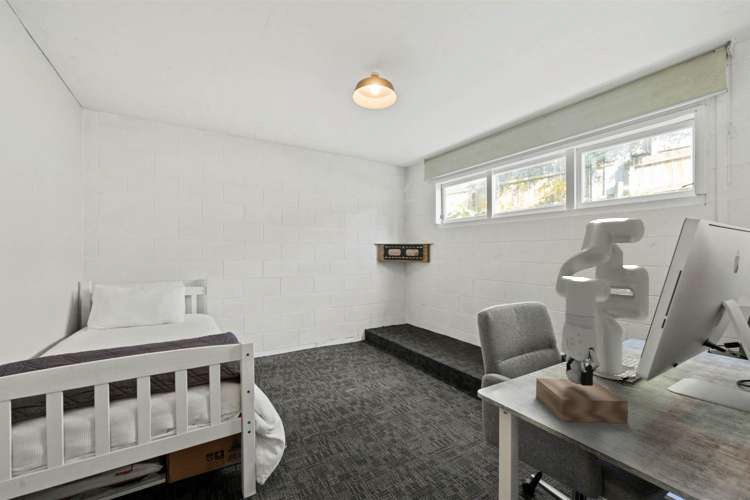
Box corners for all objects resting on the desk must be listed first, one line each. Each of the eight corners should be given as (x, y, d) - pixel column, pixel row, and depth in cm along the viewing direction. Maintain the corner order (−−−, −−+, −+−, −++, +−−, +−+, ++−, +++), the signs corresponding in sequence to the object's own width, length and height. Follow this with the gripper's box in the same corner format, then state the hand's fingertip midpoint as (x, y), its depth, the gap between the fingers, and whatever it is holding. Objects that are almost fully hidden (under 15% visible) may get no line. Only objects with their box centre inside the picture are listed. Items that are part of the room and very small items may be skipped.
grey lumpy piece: (571, 378, 96) (572, 352, 96) (595, 386, 90) (596, 359, 90) (562, 381, 93) (563, 355, 93) (586, 390, 87) (587, 362, 87)
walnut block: (592, 398, 98) (592, 379, 98) (627, 422, 84) (628, 401, 84) (536, 396, 99) (536, 378, 99) (562, 421, 85) (562, 399, 85)
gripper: (551, 314, 100) (550, 368, 100) (587, 327, 83) (585, 393, 83) (574, 314, 100) (573, 369, 100) (614, 327, 83) (613, 394, 83)
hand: (578, 379), depth 92 cm, fingers closed on grey lumpy piece, 6 cm apart
